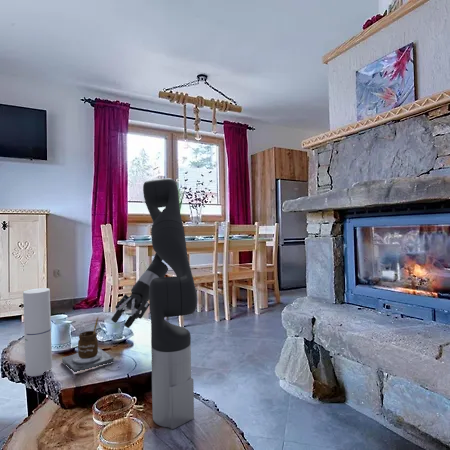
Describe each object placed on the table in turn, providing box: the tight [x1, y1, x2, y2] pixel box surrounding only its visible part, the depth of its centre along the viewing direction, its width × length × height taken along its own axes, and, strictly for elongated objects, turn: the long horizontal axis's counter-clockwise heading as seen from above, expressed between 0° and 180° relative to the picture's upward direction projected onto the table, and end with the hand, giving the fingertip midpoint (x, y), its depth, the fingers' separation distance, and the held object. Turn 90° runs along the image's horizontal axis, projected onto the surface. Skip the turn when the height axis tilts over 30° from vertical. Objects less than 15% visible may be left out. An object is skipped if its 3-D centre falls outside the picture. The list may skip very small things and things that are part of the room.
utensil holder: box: [77, 317, 99, 358], centre depth 108 cm, size 6×6×12 cm
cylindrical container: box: [22, 287, 53, 377], centre depth 103 cm, size 7×7×25 cm
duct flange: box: [61, 346, 115, 372], centre depth 109 cm, size 12×12×3 cm
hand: (119, 324), depth 117 cm, fingers open, 8 cm apart
